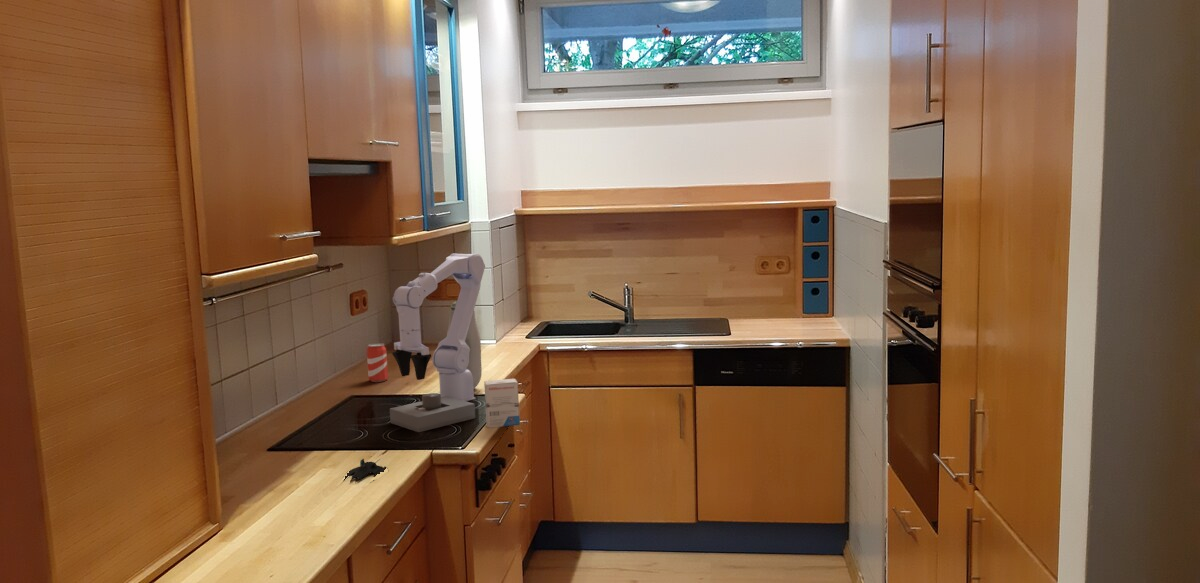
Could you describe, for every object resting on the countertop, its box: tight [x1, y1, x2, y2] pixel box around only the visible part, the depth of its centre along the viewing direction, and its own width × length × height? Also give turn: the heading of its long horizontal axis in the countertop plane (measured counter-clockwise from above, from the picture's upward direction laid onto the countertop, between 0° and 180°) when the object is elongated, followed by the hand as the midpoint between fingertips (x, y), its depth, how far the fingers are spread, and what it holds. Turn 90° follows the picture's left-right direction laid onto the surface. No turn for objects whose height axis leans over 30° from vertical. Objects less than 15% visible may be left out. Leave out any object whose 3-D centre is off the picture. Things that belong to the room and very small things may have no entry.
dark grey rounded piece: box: [418, 392, 441, 411], centre depth 248 cm, size 6×5×6 cm
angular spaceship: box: [344, 458, 387, 483], centre depth 204 cm, size 11×15×3 cm
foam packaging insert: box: [389, 396, 476, 433], centre depth 249 cm, size 18×14×4 cm
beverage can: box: [366, 342, 389, 383], centre depth 300 cm, size 6×6×12 cm
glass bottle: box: [446, 300, 483, 389], centre depth 282 cm, size 10×10×28 cm
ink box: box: [483, 378, 521, 429], centre depth 242 cm, size 9×5×12 cm, turn 101°
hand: (413, 377), depth 256 cm, fingers open, 7 cm apart
